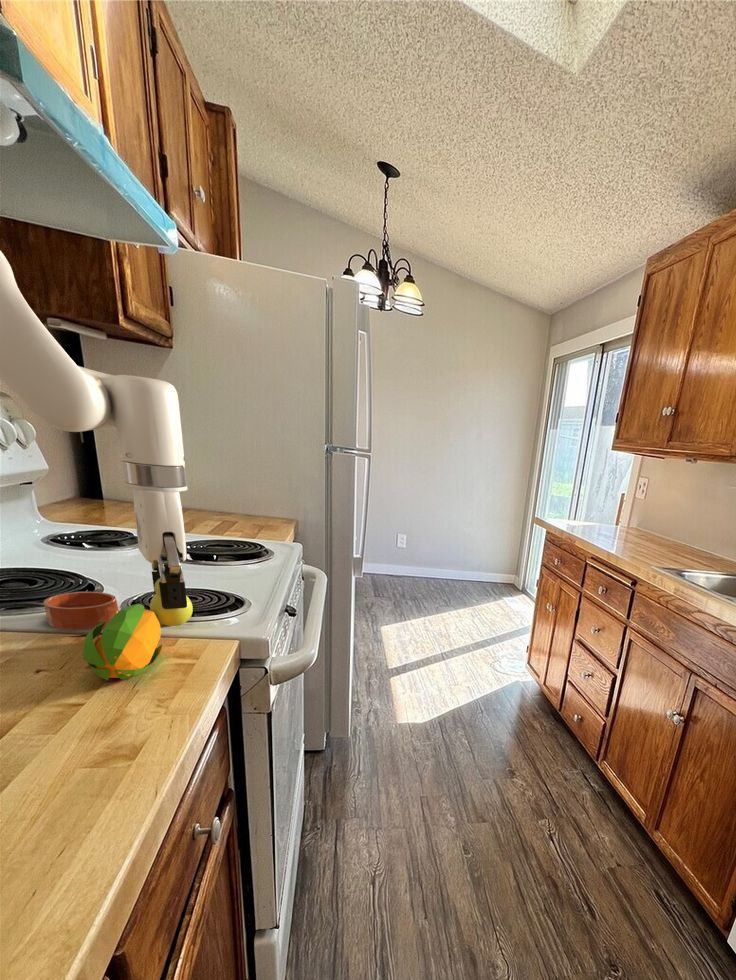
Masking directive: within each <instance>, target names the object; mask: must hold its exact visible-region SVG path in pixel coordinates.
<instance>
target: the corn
mask: <svg viewBox="0 0 736 980" xmlns="http://www.w3.org/2000/svg"><path fill="white" fill-rule="evenodd" d="M118 611H119V612H117V613H116V614H115V615H114V616H113V617H112V618H111V620H110V621H109V622H108V623H107V625H106V626H104V624H105V622H106V620H105V621H102V622H100V623H98V624H97V625H96V626H95V627H94V628H91V629H90V631H89V632H88V633H87V634H88V635H87V634H86V635H87V636H86V637H84V639H83V648H82V657H83V660H84V661H86V663H87V664H88V666H89V667H90V668H91V670H92V671H93V673H94V674H95V675H96V676H98V677H100V678H102V679H104V680H106V681H109V680H110V679H112V678H113V679H114V678H116V679H120V680H124V681H128V680H131V679H132V678H135V677H137V676H140V675H142V674H143V673H145V672H146V671H147V670H148V669H149V667H151V666H152V664H153V663H154V662H155V660H156V659H157V658H158V656H159V655H160V654H161V650H162V647H163V644H162V643H161V644H160V645H158V644H159V641H160V639H161V630H162V629H161V628H162V627H161V623H160V622H159V621H158V619H157V617H156V614H155V612H154V611H151V610H150V609H146V608H145V606H144V605H143V604H141V603H135V604H131V605H129V606H125V607H123V608H121V609H120V610H118ZM101 633H103V634H101ZM99 634H101V635H99ZM97 637H98V638H97ZM96 638H97V639H96ZM95 639H96V640H95ZM94 640H95V641H94ZM157 646H158V647H157Z"/></svg>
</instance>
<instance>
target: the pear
mask: <svg viewBox="0 0 736 980" xmlns="http://www.w3.org/2000/svg"><path fill="white" fill-rule="evenodd" d="M159 582H161V578H159V579H158V580H157V581H156V583H155V587H154V586H153V590H154V589H155V592H156V594H155V593H154V595H153V597H152V598H151V600H150V602H149V610H151V611H154V612H155V614H156V617H157V619H158V621H159V624H161V625H164V626H168V627H177V626H182V625H184V624H186V623H187V622H188V621H189V620H190V619H191V617H192V615H193V610H194V607H193V602H192V600H191V599H190V598H189V596H188V595H186V599H187V607H186V608H177V609H164V608H163V607H162V603H161V595H160V588H159Z"/></svg>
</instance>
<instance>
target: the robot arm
mask: <svg viewBox="0 0 736 980" xmlns="http://www.w3.org/2000/svg"><path fill="white" fill-rule="evenodd" d="M0 380H1V381H2V382H3V384H4V385H5V386H7V387H8V389H9V390H10V391H11V392H12V393H13V394H14V395H15V396H16V398H17V399H19V400H20V402H21V403H22V404H24V406H25V407H26V408H27V409H28V410H29V411H30V412H32V413H33V415H34V416H36V417H37V418H39V419H40V420H41V421H43V422H44V423H46V424H47V425H48V426H51V427H53V428H56V429H58V430H61V431H65V432H69V433H70V432H71V433H79V432H80V433H81V432H87V431H95V430H116V434H117V442H118V443H117V444H118V449H119V455H120V456H119V457H120V463H121V471H122V478H123V484H124V487H126V488H129V489H132V492H133V493H132V496H133V497H132V498H133V508H134V518H135V527H136V538H137V547H138V550H139V552H140V554H141V555H142V557H143V558H144V559H145V560H146V561H147V563H148V562H149V563H151V569H152V571H151V578H152V585H153V592H154V593H153V594H154V595H155V594H156V592H155V589H154V587H155V583H156V581H157V580H158V579H159V578H161V582H159V588H160V595H161V603H162V607H163V608H164V609H177V608H186V607H187V599H186V596H187V590H186V583H185V582H186V581H185V579H184V573H183V572H184V571H183V567H182V563H183V562H185V561H186V560H187V542H186V541H187V540H186V533H185V524H184V515H183V506H182V500H181V494H180V492H186V491H188V490H189V489H188V481H187V470H186V461H185V460H186V459H185V451H184V441H183V432H182V431H183V430H182V423H181V422H182V421H181V413H180V402H179V401H180V400H179V394H178V392H177V389H176V388H175V386H174V385H173V384H171V383H170V382H168V381H165V380H163V379H156V378H151V377H145V376H140V375H139V376H138V375H129V374H117V375H114V374H109V373H105V372H102V371H101V372H100V371H97V370H93V369H90V368H86V367H83V366H80V365H77V364H76V362H75V361H74V360H73V359H72V358H71V357H70V355H69V354H68V353H67V352H66V351H65V349H64V348H63V347H62V346H61V344H60V343H59V342H58V341H57V340H56V339H55V337H54V336H53V335H52V334H51V333H50V332H49V330H48V329H47V327H45V325H44V324H43V323H42V321H41V320H40V318H39V317H38V316H37V315H36V313H35V312H34V311H33V309H32V308H31V307H30V305H29V304H28V302H27V301H26V299H25V297H24V296H23V294H22V292H21V290H20V288H19V286H18V283H17V281H16V278H15V274H14V272H13V269H12V266H11V264H10V263H9V261H8V259H7V258H6V256H5V255H4V253H3V252H2V250H0Z"/></svg>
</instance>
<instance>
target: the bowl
mask: <svg viewBox="0 0 736 980" xmlns="http://www.w3.org/2000/svg"><path fill="white" fill-rule="evenodd" d="M43 606H44V611H45V614H46V619H47V623H48V625H49V626H50V627H52V628H56V629H61V630H70V631H71V630H74V631H75V630H76V631H78V630H92V629H93V628H94V627H95V626H96V625H97V624H98V623H100V622H102V621H105V620H106V622H105V624H104V626H103V627H105V626H106V625H107V623H108V622H109V621H110V620H111V618H112V617H113V616H114V615H115V614H116V613H117V612H119V611H120V610H119V606H118V601H117V598H116V596H115V595H113V594H111V593H107V592H106V593H105V592H101V591H99V592H98V591H75V592H66V593H61V594H56V595H52V596H50V597H47V598H46V599H45V600H43ZM102 634H103V632H101V634H99V635H98V636H101V635H102ZM87 635H88V633H87V634H78V635H69V636H67V637H68V638H85V637H86V636H87Z"/></svg>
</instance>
